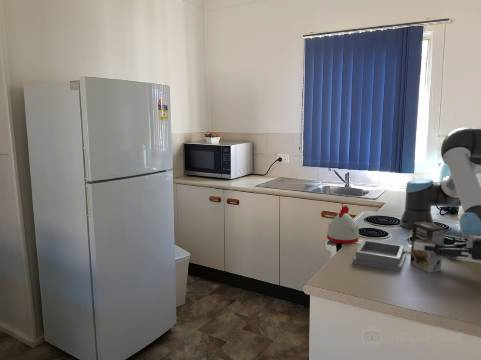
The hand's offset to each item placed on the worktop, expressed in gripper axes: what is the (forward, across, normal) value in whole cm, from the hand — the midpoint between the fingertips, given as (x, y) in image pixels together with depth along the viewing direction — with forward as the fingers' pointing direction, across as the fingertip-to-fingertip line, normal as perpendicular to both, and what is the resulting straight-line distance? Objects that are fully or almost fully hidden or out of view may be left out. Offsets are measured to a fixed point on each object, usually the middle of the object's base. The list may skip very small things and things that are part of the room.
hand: (415, 240), depth 143 cm
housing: (+12, 0, -10) cm, 15 cm away
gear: (-10, +19, -10) cm, 24 cm away
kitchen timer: (+31, +19, -10) cm, 38 cm away
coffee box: (-4, 0, -10) cm, 11 cm away
